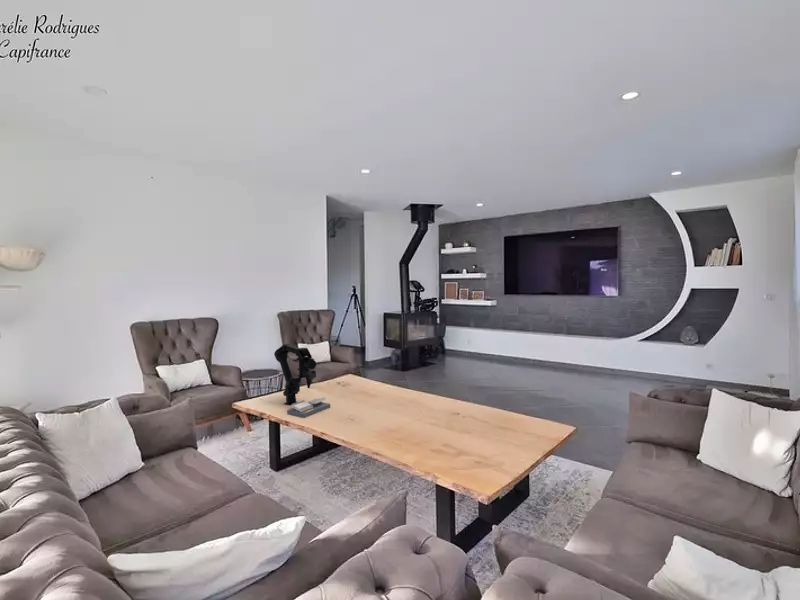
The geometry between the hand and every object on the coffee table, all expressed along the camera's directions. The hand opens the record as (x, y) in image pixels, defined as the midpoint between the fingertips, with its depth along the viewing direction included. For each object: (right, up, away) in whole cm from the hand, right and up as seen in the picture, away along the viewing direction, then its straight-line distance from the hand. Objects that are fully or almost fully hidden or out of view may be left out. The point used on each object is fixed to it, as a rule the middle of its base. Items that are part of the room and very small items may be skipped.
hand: (303, 389), depth 271 cm
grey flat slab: (+2, -8, -13) cm, 15 cm away
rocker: (+8, -7, -2) cm, 11 cm away
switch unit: (+5, -12, -7) cm, 15 cm away
